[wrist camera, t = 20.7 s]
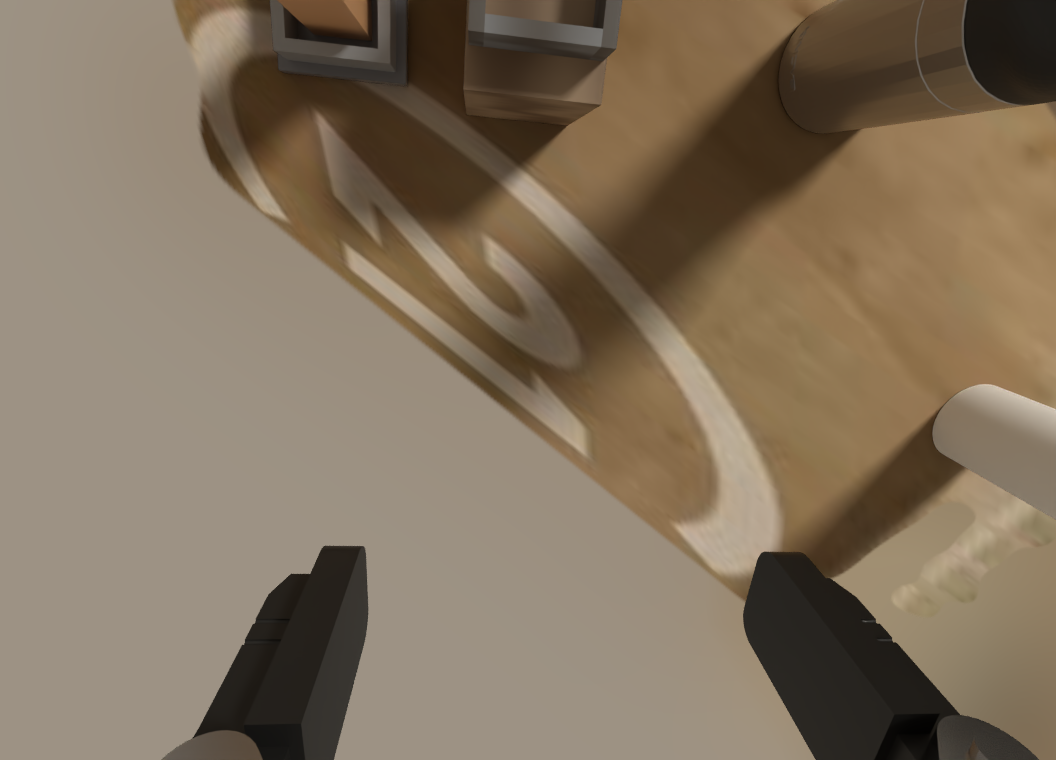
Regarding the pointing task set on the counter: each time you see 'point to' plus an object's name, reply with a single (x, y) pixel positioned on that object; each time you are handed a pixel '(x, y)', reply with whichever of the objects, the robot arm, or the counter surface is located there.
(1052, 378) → the counter surface
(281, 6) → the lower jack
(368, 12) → the plug
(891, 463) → the counter surface
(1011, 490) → the container
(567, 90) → the square socket base
